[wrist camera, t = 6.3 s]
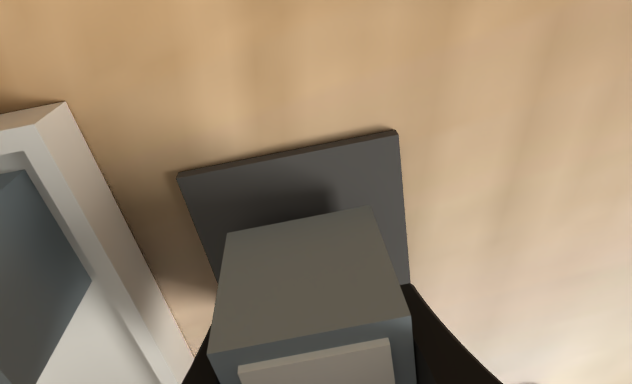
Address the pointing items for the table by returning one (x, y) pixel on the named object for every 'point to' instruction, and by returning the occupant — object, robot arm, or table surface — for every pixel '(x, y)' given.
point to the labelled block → (311, 305)
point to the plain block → (33, 281)
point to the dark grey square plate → (301, 192)
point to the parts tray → (95, 261)
